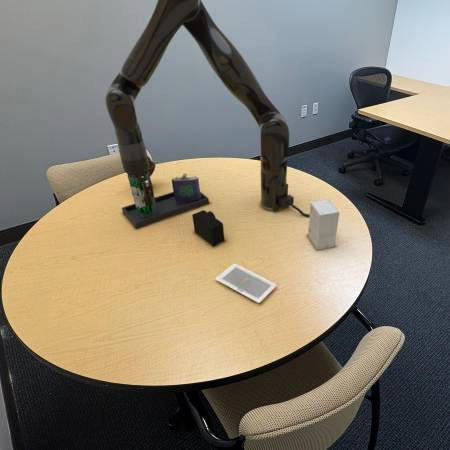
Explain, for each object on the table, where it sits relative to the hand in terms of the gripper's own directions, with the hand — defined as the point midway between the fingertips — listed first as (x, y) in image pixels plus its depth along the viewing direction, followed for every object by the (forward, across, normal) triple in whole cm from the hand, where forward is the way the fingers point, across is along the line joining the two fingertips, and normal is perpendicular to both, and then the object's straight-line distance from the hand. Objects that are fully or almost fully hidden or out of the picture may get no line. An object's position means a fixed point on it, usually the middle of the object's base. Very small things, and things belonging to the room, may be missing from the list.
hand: (145, 201), depth 112 cm
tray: (+5, 0, -7) cm, 9 cm away
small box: (+6, -48, -36) cm, 61 cm away
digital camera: (+6, -24, -10) cm, 27 cm away
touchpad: (+6, -49, -6) cm, 50 cm away
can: (+5, 0, 0) cm, 5 cm away
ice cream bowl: (+6, +19, -6) cm, 21 cm away
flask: (+5, 0, -15) cm, 16 cm away
